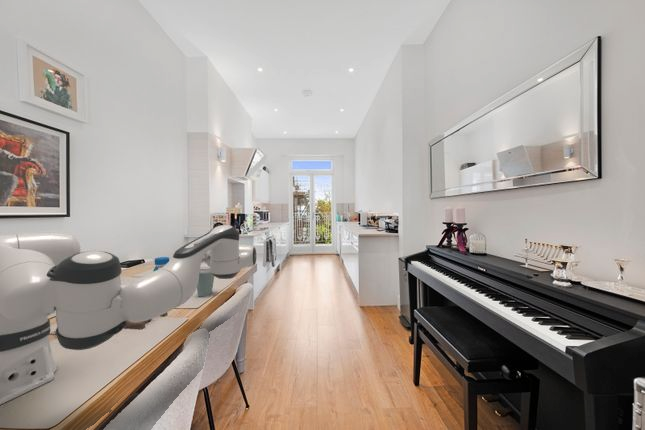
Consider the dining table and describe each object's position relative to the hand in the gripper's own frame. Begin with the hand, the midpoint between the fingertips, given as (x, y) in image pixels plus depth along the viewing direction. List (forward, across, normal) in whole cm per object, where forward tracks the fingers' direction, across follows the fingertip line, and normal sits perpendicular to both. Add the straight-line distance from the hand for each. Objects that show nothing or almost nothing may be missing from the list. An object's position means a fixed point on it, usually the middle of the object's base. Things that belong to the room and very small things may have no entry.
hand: (181, 254), depth 108 cm
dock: (+19, +2, -28) cm, 34 cm away
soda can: (+19, +2, -28) cm, 34 cm away
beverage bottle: (+34, +34, -28) cm, 56 cm away
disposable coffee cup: (+11, +37, -28) cm, 48 cm away
